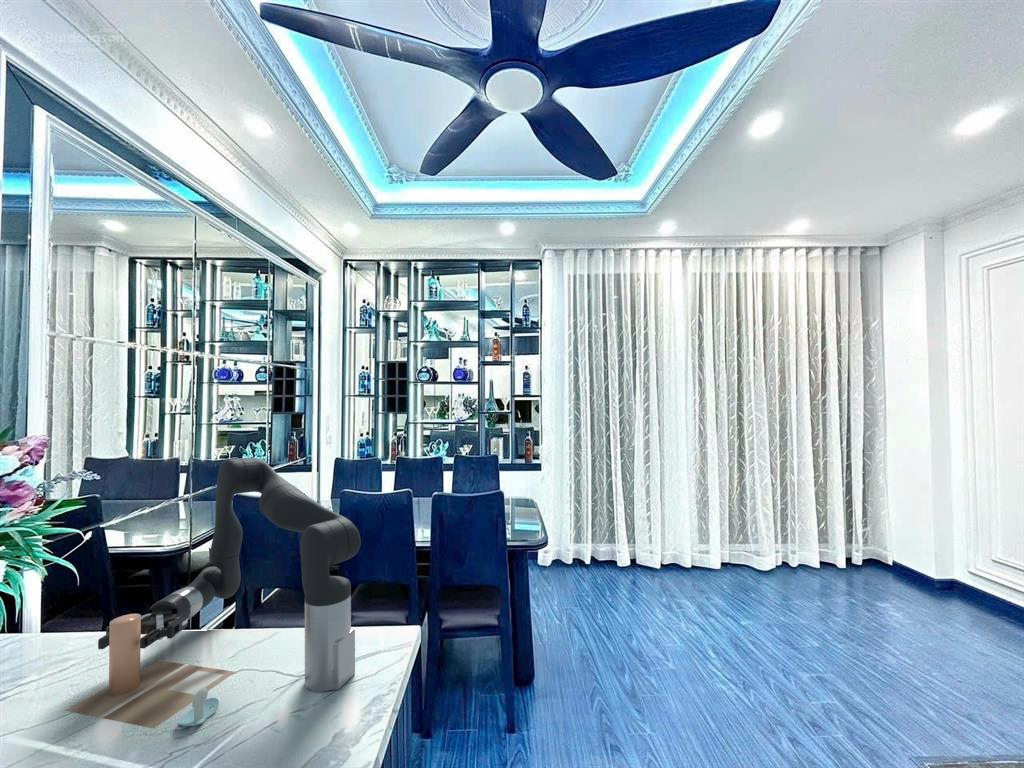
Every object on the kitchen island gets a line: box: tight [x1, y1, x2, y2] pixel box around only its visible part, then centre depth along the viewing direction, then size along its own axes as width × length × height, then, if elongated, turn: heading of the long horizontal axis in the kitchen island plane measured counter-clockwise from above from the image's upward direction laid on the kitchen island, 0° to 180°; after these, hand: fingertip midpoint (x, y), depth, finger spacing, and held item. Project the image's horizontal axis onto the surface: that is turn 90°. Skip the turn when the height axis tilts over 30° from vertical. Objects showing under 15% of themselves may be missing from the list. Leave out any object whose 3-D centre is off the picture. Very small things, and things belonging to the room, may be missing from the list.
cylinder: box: [108, 613, 142, 696], centre depth 97 cm, size 5×5×14 cm
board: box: [64, 659, 236, 729], centre depth 95 cm, size 22×18×1 cm
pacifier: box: [173, 688, 220, 730], centre depth 87 cm, size 7×6×6 cm
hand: (120, 644), depth 96 cm, fingers open, 8 cm apart
